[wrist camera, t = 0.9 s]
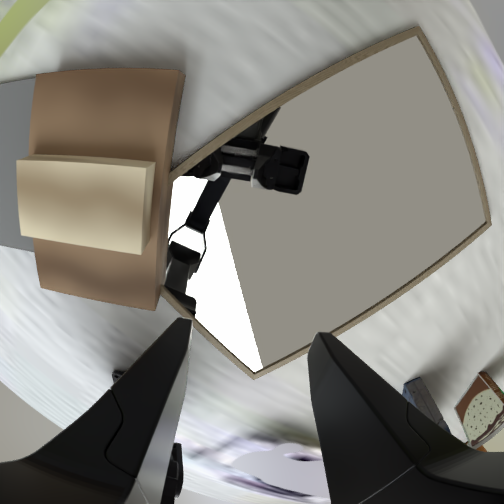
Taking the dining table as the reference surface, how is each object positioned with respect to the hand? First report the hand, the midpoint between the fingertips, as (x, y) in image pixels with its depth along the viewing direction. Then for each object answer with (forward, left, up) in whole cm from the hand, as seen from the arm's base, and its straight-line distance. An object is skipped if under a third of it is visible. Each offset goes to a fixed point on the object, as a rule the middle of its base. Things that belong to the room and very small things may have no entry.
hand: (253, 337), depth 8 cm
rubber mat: (+1, +19, -13) cm, 23 cm away
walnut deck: (0, +10, -13) cm, 16 cm away
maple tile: (0, +10, -10) cm, 14 cm away
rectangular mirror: (0, -7, -14) cm, 15 cm away
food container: (-23, -45, -13) cm, 52 cm away
